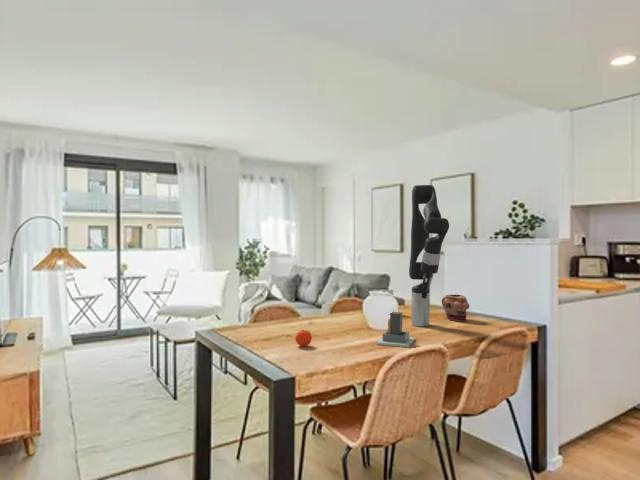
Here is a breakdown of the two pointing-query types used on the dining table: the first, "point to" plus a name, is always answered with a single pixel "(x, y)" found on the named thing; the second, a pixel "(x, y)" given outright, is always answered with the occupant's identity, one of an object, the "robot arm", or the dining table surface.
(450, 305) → the decorative planter
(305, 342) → the red rounded piece
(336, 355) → the dining table surface
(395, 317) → the dark grey block
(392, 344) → the dock
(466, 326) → the dining table surface
